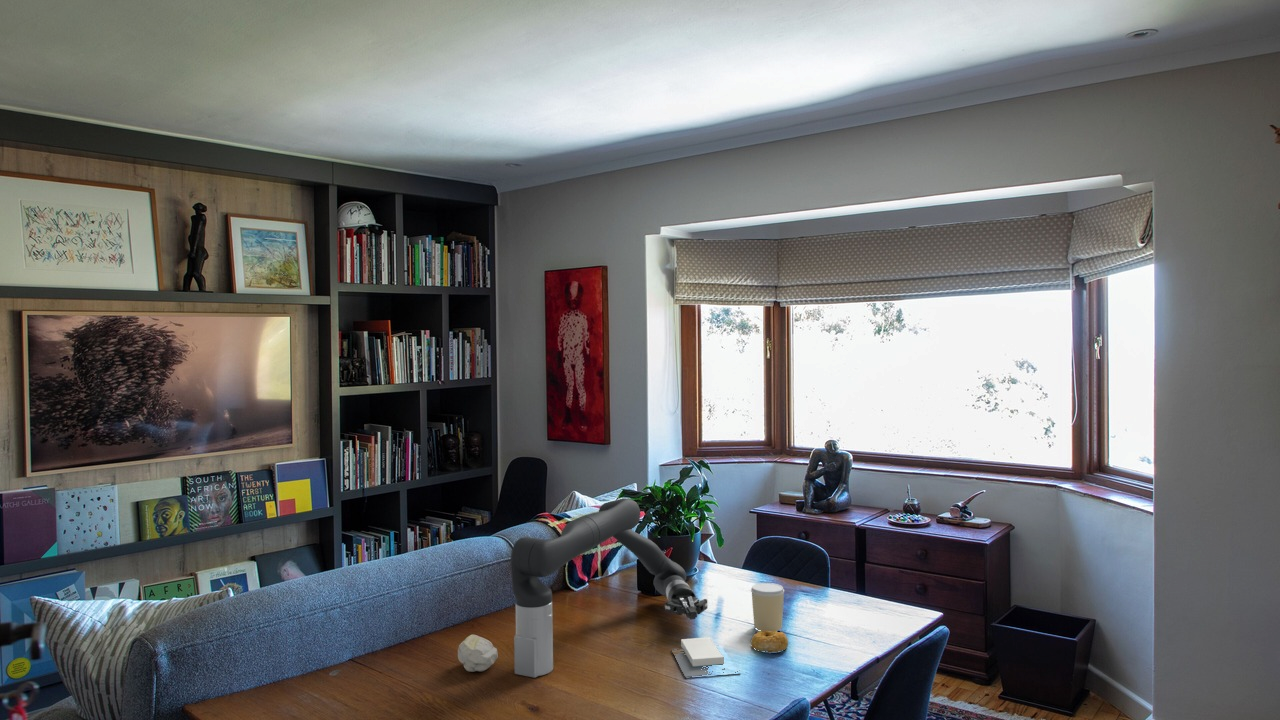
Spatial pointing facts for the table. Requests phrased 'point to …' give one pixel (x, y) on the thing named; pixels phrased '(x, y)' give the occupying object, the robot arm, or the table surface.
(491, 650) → the white rock
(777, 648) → the bagel
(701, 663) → the tile
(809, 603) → the table surface
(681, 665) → the mat
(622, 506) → the robot arm
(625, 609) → the table surface
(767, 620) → the coffee cup
